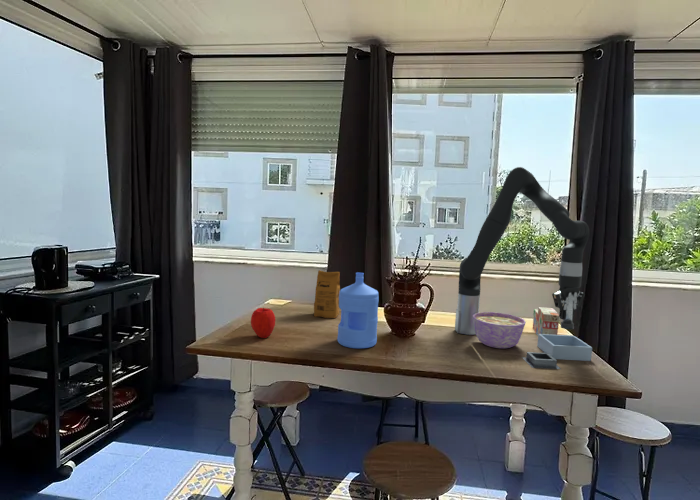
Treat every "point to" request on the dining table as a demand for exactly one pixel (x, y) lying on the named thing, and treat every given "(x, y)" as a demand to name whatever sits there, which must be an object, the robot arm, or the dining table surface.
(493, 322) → the bowl of food
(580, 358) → the bin
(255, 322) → the apple
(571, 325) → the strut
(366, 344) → the water jug
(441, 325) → the dining table surface
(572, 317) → the robot arm
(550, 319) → the stack of blocks
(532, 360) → the socket block
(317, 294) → the coffee package
